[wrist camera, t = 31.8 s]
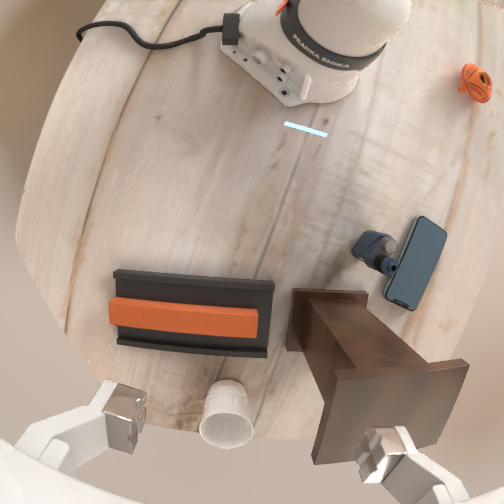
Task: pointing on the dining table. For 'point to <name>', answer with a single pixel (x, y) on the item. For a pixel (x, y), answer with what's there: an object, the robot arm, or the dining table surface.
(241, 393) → the white cup
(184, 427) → the dining table surface
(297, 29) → the robot arm
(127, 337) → the seat base
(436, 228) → the smartphone
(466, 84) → the pot
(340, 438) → the wooden display pedestal
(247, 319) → the orange long block
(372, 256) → the vaping device
